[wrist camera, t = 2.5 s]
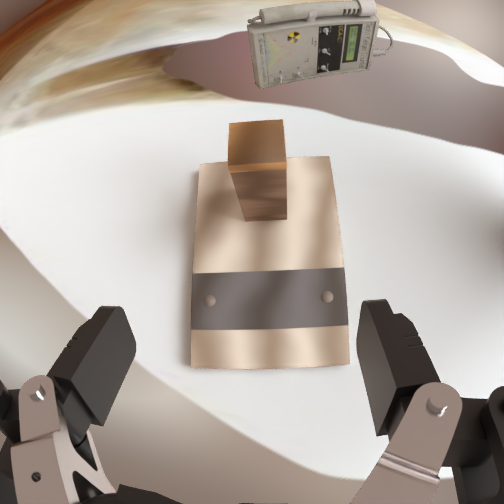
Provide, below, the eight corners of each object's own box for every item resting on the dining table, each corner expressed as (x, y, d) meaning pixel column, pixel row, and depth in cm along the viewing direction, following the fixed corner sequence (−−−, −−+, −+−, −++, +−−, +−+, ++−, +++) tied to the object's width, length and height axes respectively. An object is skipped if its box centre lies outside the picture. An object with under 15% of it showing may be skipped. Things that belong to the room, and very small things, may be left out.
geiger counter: (250, 18, 30) (414, 8, 29) (237, 1, 32) (391, -10, 31) (260, 94, 43) (397, 71, 43) (248, 71, 45) (379, 51, 45)
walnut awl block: (285, 183, 36) (282, 119, 25) (287, 219, 34) (286, 162, 24) (244, 185, 36) (229, 123, 26) (244, 222, 34) (227, 166, 24)
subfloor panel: (328, 163, 38) (329, 155, 36) (346, 363, 30) (350, 364, 28) (202, 170, 39) (199, 163, 38) (194, 367, 31) (190, 367, 30)
